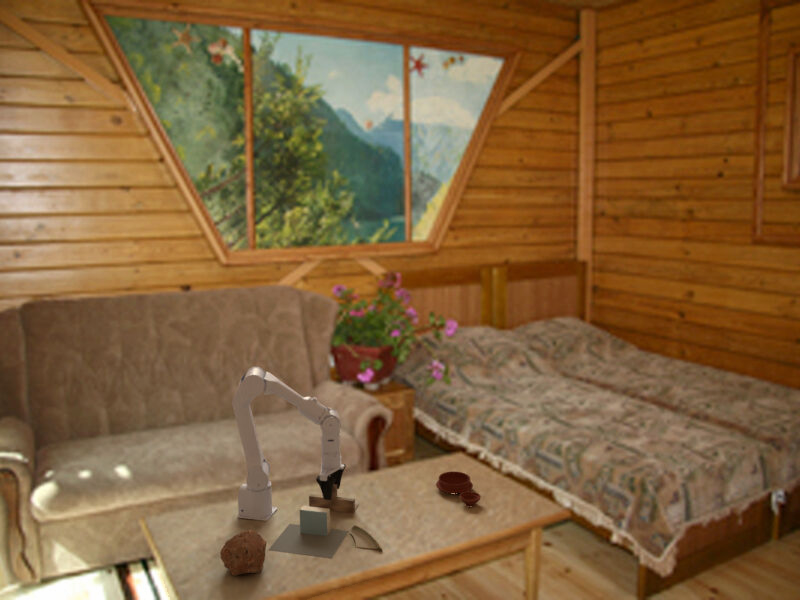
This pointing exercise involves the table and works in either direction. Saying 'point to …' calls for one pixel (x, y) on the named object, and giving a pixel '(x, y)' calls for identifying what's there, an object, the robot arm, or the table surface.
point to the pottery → (458, 486)
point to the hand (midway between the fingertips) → (331, 493)
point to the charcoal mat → (308, 542)
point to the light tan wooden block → (314, 520)
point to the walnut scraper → (333, 502)
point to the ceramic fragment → (364, 539)
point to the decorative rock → (244, 553)
